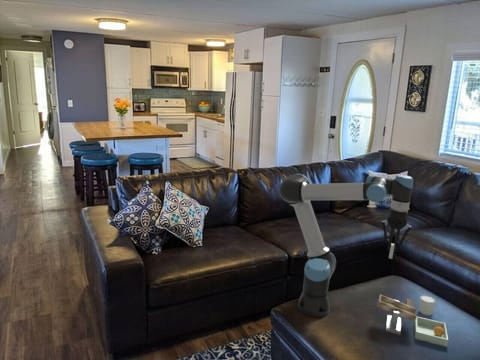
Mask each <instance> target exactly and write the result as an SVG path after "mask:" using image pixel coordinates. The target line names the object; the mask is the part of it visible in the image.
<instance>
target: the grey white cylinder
mask: <svg viewBox="0 0 480 360" xmlns="http://www.w3.org/2000/svg"><path fill="white" fill-rule="evenodd" d="M436 301H437V300H436V299H435V298H434V297H431V296H430V295H424V294H423V295H420V296H419V306H418V307H419V308H418V309H419V312H420V313H421V314H423V315H425V316H432V315H433V311H434V308H435V304H436Z"/></svg>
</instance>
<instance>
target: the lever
mask: <svg viewBox="0 0 480 360" xmlns="http://www.w3.org/2000/svg"><path fill="white" fill-rule="evenodd" d="M396 300H397V299H393V298H390V297H388V296H385V295H382V294H381V293H380V294H379V296H378V299H377V303H376V304H377V305H376V306H377V308H380V309H382V310H384V311H387V312H389V313H394V311H397V312H399V315H398V317H400V318H401V317H402V318H404V319H406V320H408V321H411V322H415V319H416V317H417V316H418V315H416V311H417V308H415V302H414V300H412V299H410V298H406V300H405V303H406V304H405V303H403V302H401V301H399V300H398V301H399V302H398V301H396Z"/></svg>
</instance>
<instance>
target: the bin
mask: <svg viewBox="0 0 480 360" xmlns="http://www.w3.org/2000/svg"><path fill="white" fill-rule="evenodd" d="M413 322H414V321H413ZM413 325H414V339H415V340H418V341H420V342H425V343H429V344H433V345H436V346H440V347H444V348H448V345H449V337H448V330H447V326H446V325H447V324H446V322H441V321H439V320H438V321H437V320H434V319H429V318H425V317H420V316H418V315H417V317H416V319H415V322H414V323H413ZM437 326H439V327H441V328H443V330H444V334H443V335H442V336H437V335H436V334H435V333H434V328H435V327H437Z"/></svg>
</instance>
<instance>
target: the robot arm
mask: <svg viewBox="0 0 480 360" xmlns="http://www.w3.org/2000/svg"><path fill="white" fill-rule="evenodd" d="M413 187H414V178H413V177H412V176H410V175H406V174H397V175H396V176H395V177H394V178H390V177H384V176H377V175H368V176H367V177H366V182H338V183H337V182H335V183H333V182H332V183H331V182H330V183H325V182H324V183H311V182H310V180H309V178H308V177H307V176H306V175H304V174H302V173H294V174H292V175H290V176H288V177H287V178H286V179H284V180H282V181H281V183H280V185H279V187H278V193H279V196H280V198H281V199H282V200H283V201H285V202H286V203H289V205H290V206H292V207H293V209H294V211H295V215H296V218H297V220H298V223H299V226H300V229H301V232H302V235H303V239H304V241H305V244H306V247H307V250H308V251H307V253H306V256H307V259H308V260H307V262H306V263H305V264H304V274H303V285H302V286H303V287H302V292H301V294H300V297H299V299H298V302H297V308H298V310H299V311H300V312H301V313H302V314H304V315H306V316H309V317H314V318H321V317H322V318H323V317H326V316H327V315H328V314H329V313H330V309H331V305H330V301H329V296H328V294H329V287H330V286H329V285H330V279H331V278H332V275H333V273H334V272H335V270H336V267H337V260H336V257H335V255H334V253H332V252H331V249H330V247H329V246H326V244H325V242H324V238H323V235H322V232H321V230H320V226H319V224H318V220H317V217H316V214H315V212H314V208H313V205H312V203H311V201H370V202H372V203H380V202H382V201H383V200H384V199H385V198H386V196H392V197H391V204H390V209H389V214H388V217H387V219H386V220H381V226H382V228H383V235H384V237H383V239H384V243H386V244H387V251H388V252H389V254H388V259H391V260H392V259H393V255H394V253H397V248H398V246H402V245H403V243H404V241H405V239H406V237H407V236H408V234H409V232H410V231H411V230H412V225H409V224H408V221H407V219H408V214H409V212H408V211H409V209H410V203H411V197H412V194H413ZM387 225H388V226H389V227H390V228H391V229H390V233H389V238H388V228H387ZM403 228H405V229H404V232H403V234H402V235H401V230H402V229H403ZM395 230H396V235H395V240H394V243H392V242H393V237H394V232H395ZM400 235H401V237H400ZM399 237H400V238H399Z"/></svg>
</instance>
